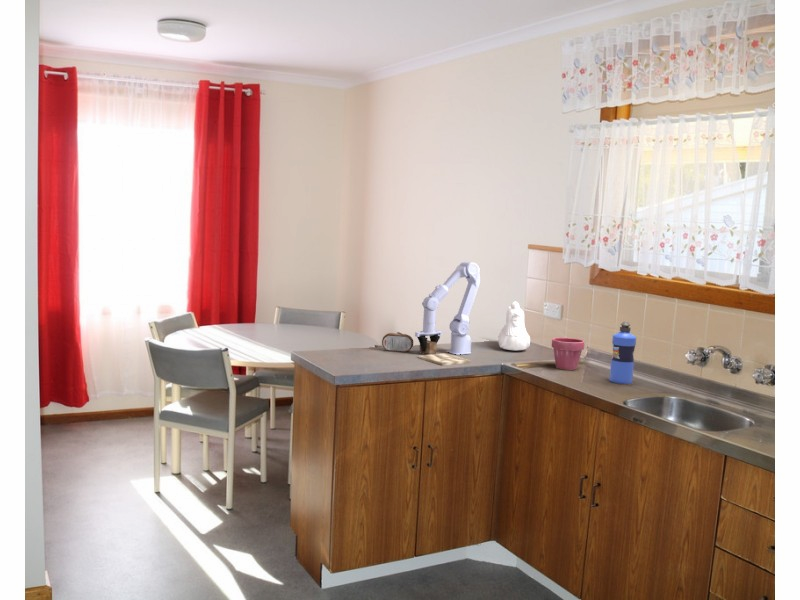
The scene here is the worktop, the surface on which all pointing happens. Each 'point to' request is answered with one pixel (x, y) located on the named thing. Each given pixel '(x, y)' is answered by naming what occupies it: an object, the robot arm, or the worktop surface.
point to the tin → (397, 342)
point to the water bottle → (623, 356)
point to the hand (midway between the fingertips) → (427, 350)
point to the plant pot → (567, 352)
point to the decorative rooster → (514, 330)
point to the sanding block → (430, 348)
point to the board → (444, 359)
